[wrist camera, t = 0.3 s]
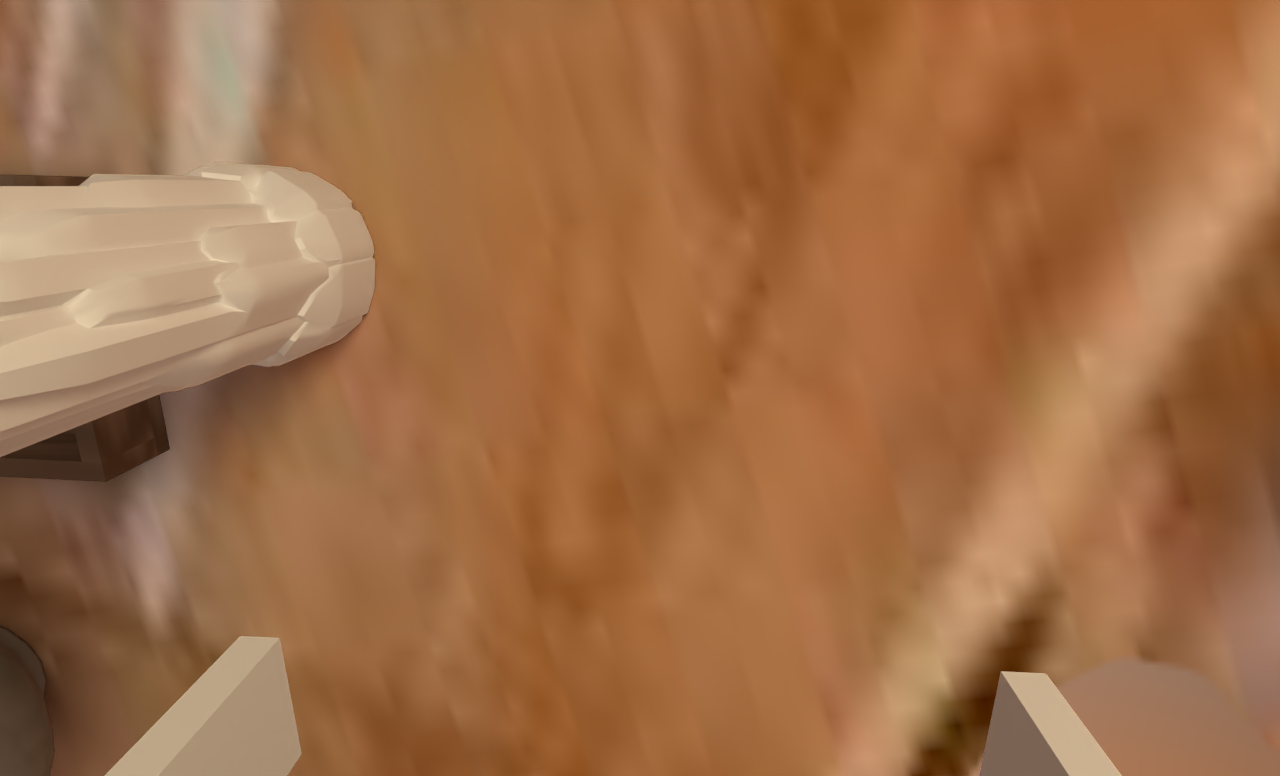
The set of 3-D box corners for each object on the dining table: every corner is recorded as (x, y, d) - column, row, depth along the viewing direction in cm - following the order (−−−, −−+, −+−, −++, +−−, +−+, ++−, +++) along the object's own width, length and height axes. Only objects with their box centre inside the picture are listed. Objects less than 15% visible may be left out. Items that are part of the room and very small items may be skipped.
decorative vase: (182, 167, 38) (-672, 133, 14) (362, 161, 37) (-213, 112, 13) (223, 351, 41) (-417, 580, 17) (390, 348, 40) (-34, 582, 16)
